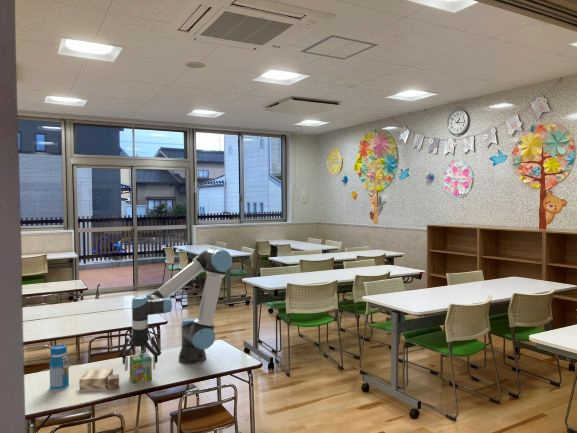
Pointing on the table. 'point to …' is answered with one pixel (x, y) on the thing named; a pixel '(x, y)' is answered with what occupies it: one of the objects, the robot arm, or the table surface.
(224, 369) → the table surface
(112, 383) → the walnut cube
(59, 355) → the beverage bottle
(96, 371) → the base block
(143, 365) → the green juice carton
